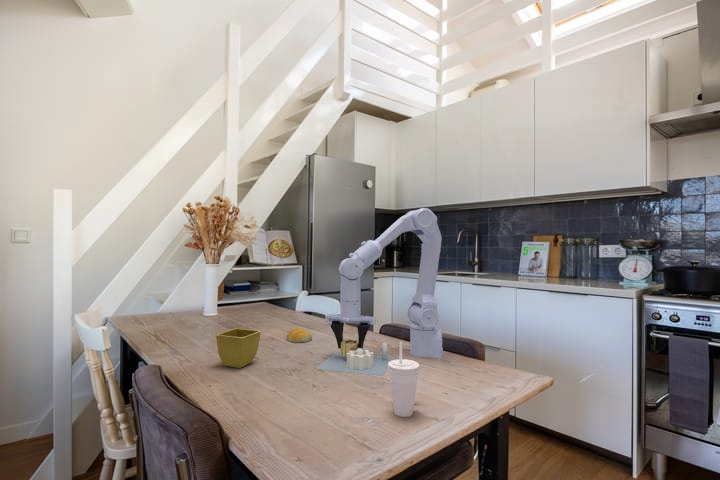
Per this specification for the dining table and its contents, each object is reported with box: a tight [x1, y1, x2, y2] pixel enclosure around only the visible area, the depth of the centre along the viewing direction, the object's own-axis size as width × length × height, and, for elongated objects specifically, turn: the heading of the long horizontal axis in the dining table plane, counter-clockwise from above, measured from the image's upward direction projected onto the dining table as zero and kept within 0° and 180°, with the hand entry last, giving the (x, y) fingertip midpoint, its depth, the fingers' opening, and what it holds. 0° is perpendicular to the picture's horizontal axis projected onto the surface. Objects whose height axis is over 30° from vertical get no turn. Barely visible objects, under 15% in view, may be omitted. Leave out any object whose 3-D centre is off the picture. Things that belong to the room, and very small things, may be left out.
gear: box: [347, 349, 374, 370], centre depth 99 cm, size 7×7×3 cm
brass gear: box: [339, 338, 359, 356], centre depth 106 cm, size 6×6×3 cm
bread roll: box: [286, 327, 313, 344], centre depth 132 cm, size 8×9×4 cm
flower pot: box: [215, 327, 261, 369], centre depth 104 cm, size 9×9×9 cm
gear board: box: [315, 342, 396, 377], centre depth 102 cm, size 18×16×6 cm
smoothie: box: [387, 341, 421, 418], centre depth 74 cm, size 6×6×14 cm
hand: (350, 348), depth 106 cm, fingers closed on brass gear, 5 cm apart
